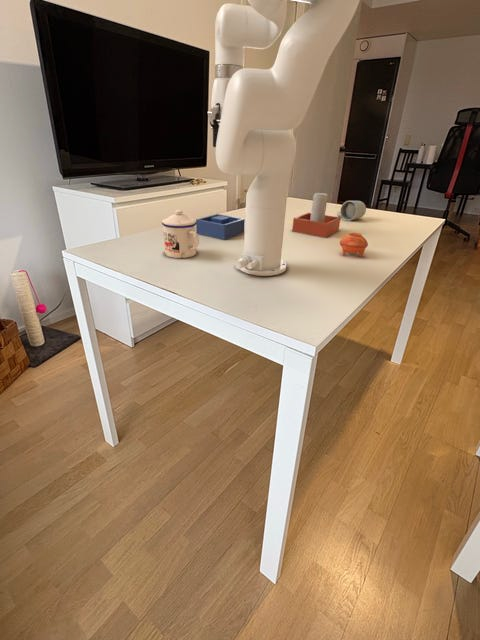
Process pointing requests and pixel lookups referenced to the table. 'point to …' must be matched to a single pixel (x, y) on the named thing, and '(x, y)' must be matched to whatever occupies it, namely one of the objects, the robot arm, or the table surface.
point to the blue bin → (220, 227)
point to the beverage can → (319, 207)
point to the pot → (353, 243)
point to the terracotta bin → (316, 225)
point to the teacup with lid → (180, 235)
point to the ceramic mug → (352, 210)
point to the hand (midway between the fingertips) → (228, 147)
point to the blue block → (220, 219)
